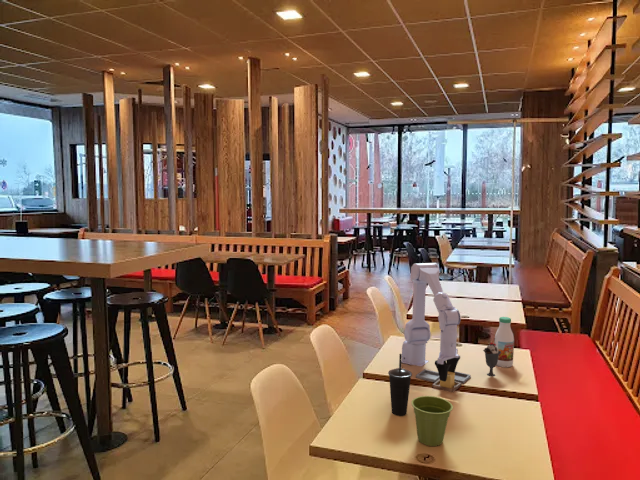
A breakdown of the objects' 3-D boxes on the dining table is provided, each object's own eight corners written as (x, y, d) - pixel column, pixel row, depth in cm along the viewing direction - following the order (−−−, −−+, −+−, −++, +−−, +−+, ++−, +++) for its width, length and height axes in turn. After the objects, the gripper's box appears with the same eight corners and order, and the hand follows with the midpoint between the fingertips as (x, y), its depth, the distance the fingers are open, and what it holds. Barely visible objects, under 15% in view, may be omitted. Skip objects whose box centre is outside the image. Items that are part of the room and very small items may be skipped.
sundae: (497, 373, 205) (499, 336, 203) (501, 379, 198) (503, 341, 196) (480, 372, 205) (482, 336, 204) (484, 378, 199) (485, 341, 197)
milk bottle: (490, 364, 214) (492, 318, 212) (498, 360, 220) (500, 314, 218) (508, 369, 209) (510, 321, 207) (515, 364, 215) (518, 317, 212)
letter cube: (439, 386, 189) (440, 373, 189) (444, 383, 192) (444, 370, 192) (450, 389, 187) (450, 375, 186) (454, 385, 190) (454, 372, 190)
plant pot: (425, 454, 143) (427, 416, 141) (402, 435, 154) (403, 399, 152) (460, 446, 147) (461, 408, 146) (435, 428, 158) (436, 393, 157)
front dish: (432, 388, 189) (432, 384, 189) (440, 381, 195) (441, 378, 195) (453, 393, 184) (453, 389, 184) (461, 386, 191) (461, 382, 191)
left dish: (415, 378, 198) (415, 375, 198) (424, 372, 205) (424, 369, 204) (435, 383, 194) (435, 379, 193) (443, 377, 200) (443, 373, 200)
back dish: (442, 380, 197) (443, 376, 197) (450, 374, 203) (450, 370, 203) (463, 385, 192) (463, 381, 192) (470, 378, 199) (470, 374, 199)
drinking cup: (412, 409, 171) (414, 351, 169) (408, 419, 164) (410, 359, 162) (389, 406, 173) (391, 349, 171) (385, 416, 166) (386, 356, 164)
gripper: (451, 349, 180) (449, 386, 181) (466, 339, 191) (464, 374, 193) (432, 345, 184) (431, 381, 185) (448, 335, 195) (446, 369, 197)
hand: (447, 377), depth 189 cm, fingers open, 7 cm apart
